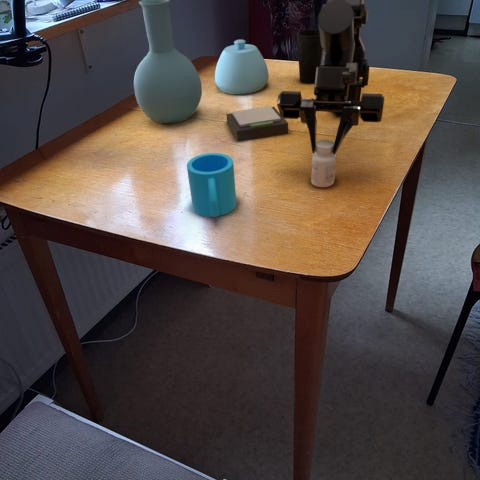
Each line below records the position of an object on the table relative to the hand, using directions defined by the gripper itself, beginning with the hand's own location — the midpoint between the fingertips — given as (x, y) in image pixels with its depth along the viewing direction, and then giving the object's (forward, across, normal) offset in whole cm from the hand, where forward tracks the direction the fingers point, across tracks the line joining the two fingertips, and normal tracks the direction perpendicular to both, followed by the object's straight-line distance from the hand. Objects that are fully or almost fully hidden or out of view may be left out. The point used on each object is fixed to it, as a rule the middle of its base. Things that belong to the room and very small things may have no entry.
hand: (323, 152), depth 87 cm
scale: (-13, -19, +22) cm, 32 cm away
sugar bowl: (-33, -30, +43) cm, 62 cm away
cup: (-38, -12, +47) cm, 61 cm away
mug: (+13, -18, -4) cm, 22 cm away
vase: (-17, -42, +26) cm, 53 cm away
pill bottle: (+4, 0, +6) cm, 7 cm away
